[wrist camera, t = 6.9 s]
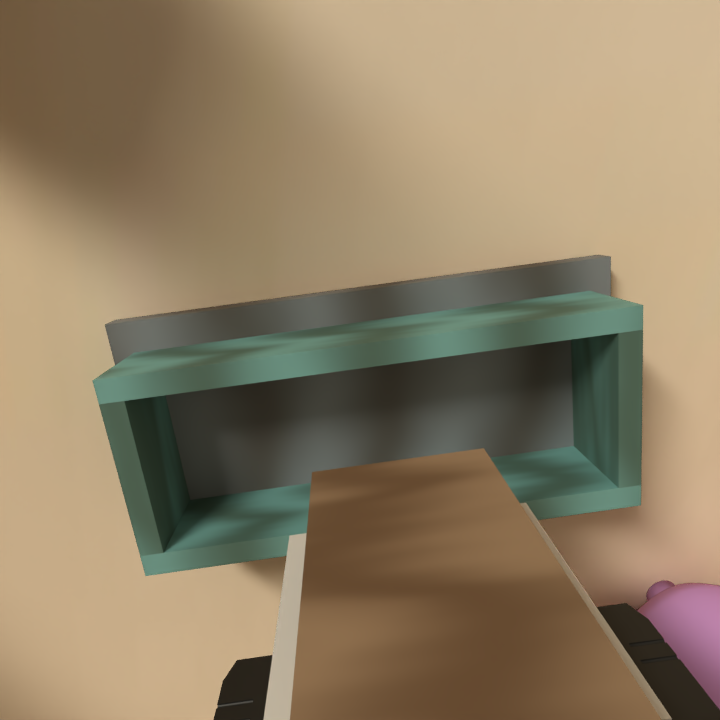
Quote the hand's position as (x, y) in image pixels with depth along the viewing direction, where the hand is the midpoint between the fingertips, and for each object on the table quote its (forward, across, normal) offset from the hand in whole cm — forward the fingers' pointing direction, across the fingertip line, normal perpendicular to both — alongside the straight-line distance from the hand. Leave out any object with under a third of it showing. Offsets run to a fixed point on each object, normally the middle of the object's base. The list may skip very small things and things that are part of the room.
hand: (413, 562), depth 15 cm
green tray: (+13, 0, 0) cm, 13 cm away
